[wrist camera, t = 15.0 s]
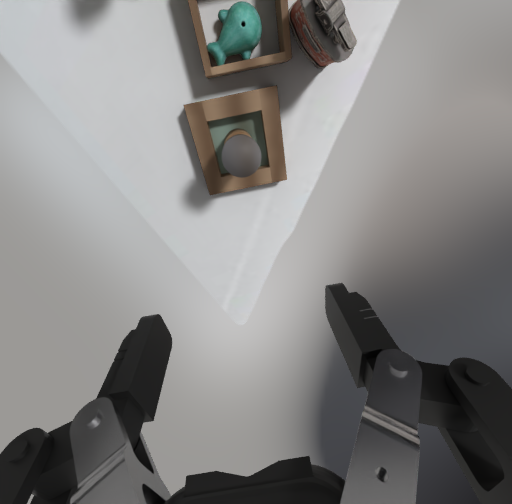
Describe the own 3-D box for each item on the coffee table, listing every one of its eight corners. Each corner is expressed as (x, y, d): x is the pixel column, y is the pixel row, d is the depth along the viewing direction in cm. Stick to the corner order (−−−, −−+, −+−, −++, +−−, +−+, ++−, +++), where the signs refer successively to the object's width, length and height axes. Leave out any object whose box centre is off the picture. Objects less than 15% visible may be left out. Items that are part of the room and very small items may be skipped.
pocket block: (210, 190, 42) (209, 195, 40) (186, 104, 35) (183, 105, 33) (284, 175, 42) (287, 179, 40) (274, 86, 35) (276, 85, 33)
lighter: (281, 18, 31) (300, -13, 23) (302, -7, 30) (330, -49, 22) (317, 75, 35) (344, 67, 26) (336, 54, 34) (372, 39, 25)
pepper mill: (227, 162, 39) (227, 181, 30) (219, 130, 37) (217, 140, 27) (255, 156, 39) (264, 173, 30) (250, 124, 37) (257, 131, 27)
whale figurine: (269, 43, 32) (273, 37, 29) (225, 80, 34) (225, 78, 31) (243, -9, 30) (245, -22, 26) (197, 35, 31) (194, 27, 28)
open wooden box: (208, 78, 34) (205, 76, 31) (183, -27, 28) (178, -41, 25) (286, 61, 33) (291, 58, 30) (277, -48, 28) (282, -65, 25)
